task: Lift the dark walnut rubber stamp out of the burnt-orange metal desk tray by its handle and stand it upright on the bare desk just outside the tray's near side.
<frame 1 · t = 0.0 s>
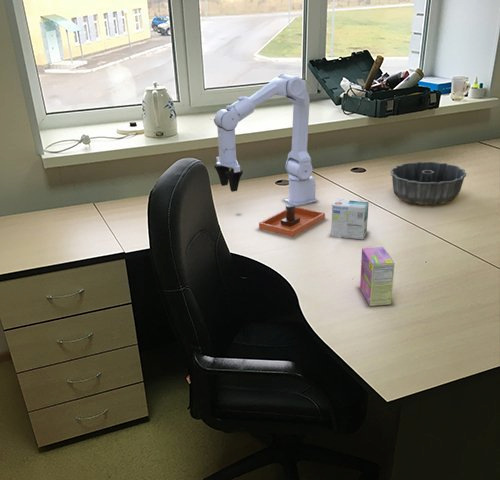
hand: (229, 188, 202), 10 cm above the table, tool pointing down, fingers open, 7 cm apart
tray: (292, 225, 198), on the table
bundt pan: (424, 198, 217), on the table
light bulb box: (348, 235, 190), on the table
box: (374, 297, 153), on the table
stamp: (290, 223, 198), resting on tray
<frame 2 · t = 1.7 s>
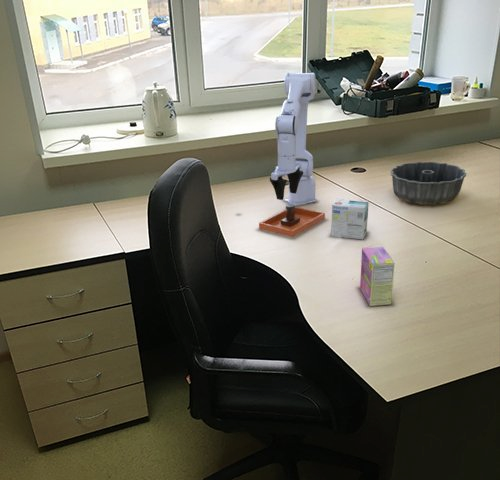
hand: (286, 196, 194), 10 cm above the table, tool pointing down, fingers open, 7 cm apart
nothing on the table moved.
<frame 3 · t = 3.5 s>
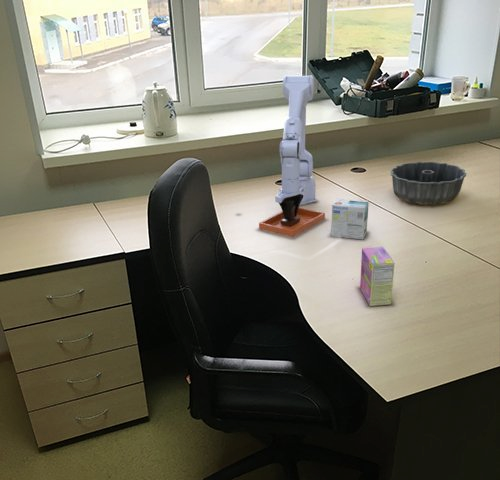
hand: (290, 217, 197), 3 cm above the table, tool pointing down, fingers closed on stamp, 3 cm apart
stamp: (290, 223, 198), point 1 cm above the table, touching gripper, tray
everything else where it was.
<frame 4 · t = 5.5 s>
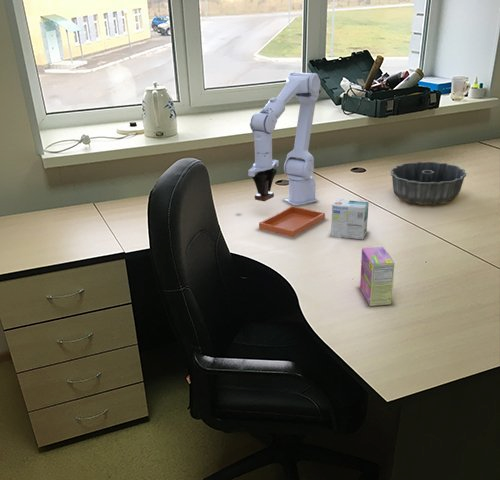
hand: (264, 192, 199), 10 cm above the table, tool pointing down, fingers closed on stamp, 3 cm apart
stamp: (264, 198, 200), point 7 cm above the table, touching gripper
everything else where it was.
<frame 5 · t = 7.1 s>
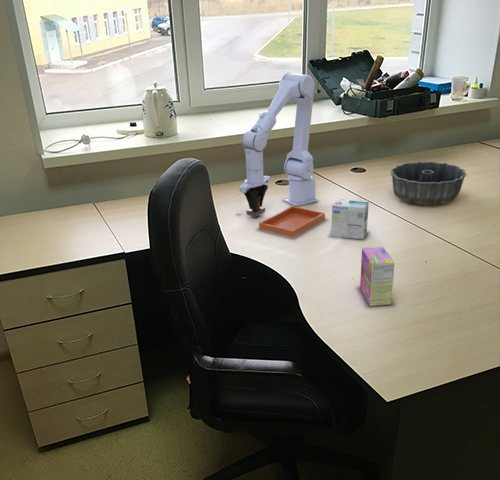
hand: (255, 207, 204), 4 cm above the table, tool pointing down, fingers closed on stamp, 3 cm apart
stamp: (255, 213, 205), point 1 cm above the table, touching gripper
everything else where it was.
when the fingers open (2 cm above the table, at t = 7.9 s): stamp stays where it is, on the table.
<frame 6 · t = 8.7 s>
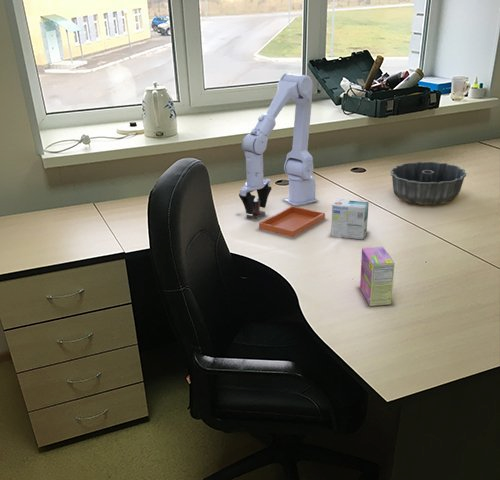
hand: (256, 210, 204), 3 cm above the table, tool pointing down, fingers open, 7 cm apart
stamp: (256, 217, 206), on the table
everything else where it was.
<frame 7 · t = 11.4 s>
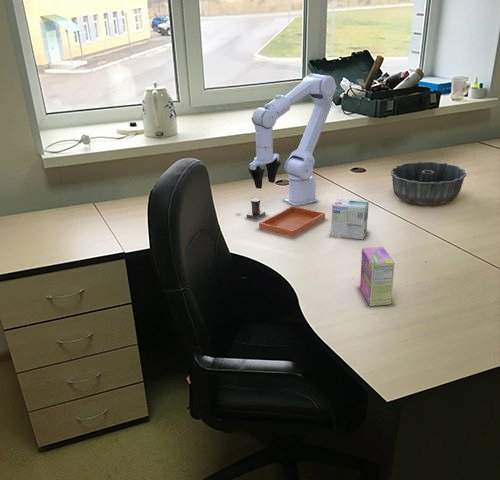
hand: (265, 185, 206), 9 cm above the table, tool pointing down, fingers open, 7 cm apart
nothing on the table moved.
at the end: stamp inside the target area (0.0 cm from its centre), on the table; stamp tilted 0°; stamp touching table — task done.
